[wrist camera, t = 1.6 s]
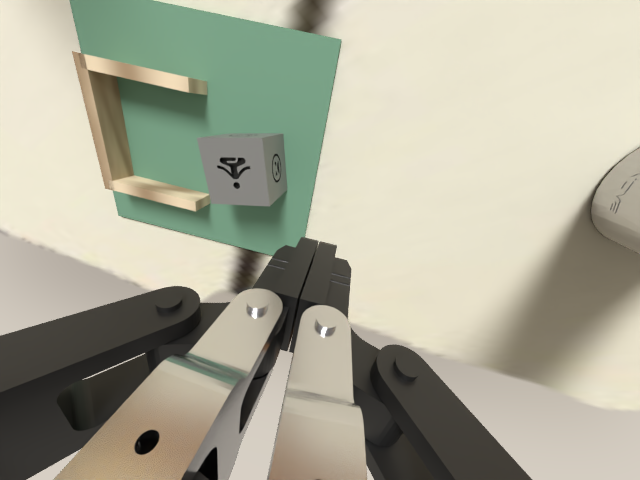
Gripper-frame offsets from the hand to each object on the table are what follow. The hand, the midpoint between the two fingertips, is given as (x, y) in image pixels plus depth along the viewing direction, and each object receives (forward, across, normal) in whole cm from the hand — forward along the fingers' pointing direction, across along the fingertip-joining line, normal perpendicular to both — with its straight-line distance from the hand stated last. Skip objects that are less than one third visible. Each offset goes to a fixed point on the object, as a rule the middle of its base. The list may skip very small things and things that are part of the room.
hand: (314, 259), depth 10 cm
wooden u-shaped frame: (+14, +17, 0) cm, 22 cm away
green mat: (+14, +13, 0) cm, 20 cm away
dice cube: (+14, +8, 0) cm, 16 cm away
